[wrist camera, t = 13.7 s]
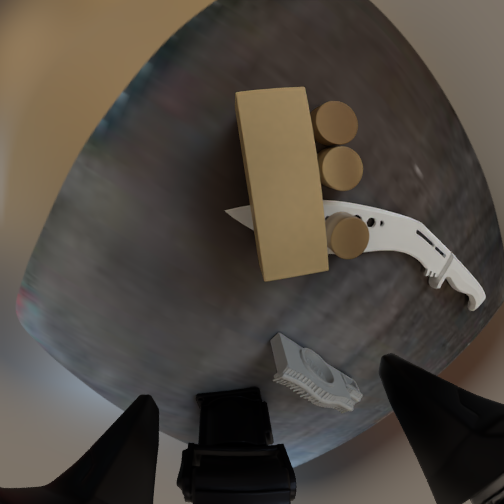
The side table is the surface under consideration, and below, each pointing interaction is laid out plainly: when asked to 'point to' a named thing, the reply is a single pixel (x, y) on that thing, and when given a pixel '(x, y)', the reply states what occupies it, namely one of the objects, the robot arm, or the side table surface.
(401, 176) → the side table surface
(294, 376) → the garden wall model
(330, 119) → the crumb
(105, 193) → the side table surface
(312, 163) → the oblong tan box
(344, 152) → the short tan cylinder
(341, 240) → the tan squat cylinder
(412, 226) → the knife
